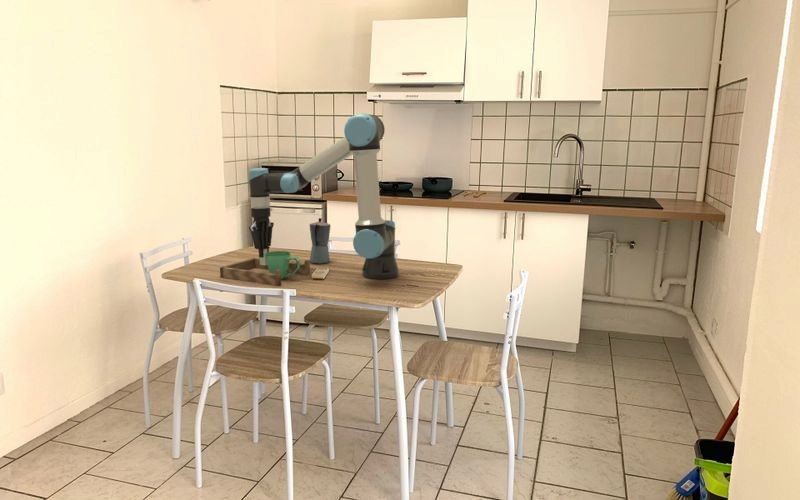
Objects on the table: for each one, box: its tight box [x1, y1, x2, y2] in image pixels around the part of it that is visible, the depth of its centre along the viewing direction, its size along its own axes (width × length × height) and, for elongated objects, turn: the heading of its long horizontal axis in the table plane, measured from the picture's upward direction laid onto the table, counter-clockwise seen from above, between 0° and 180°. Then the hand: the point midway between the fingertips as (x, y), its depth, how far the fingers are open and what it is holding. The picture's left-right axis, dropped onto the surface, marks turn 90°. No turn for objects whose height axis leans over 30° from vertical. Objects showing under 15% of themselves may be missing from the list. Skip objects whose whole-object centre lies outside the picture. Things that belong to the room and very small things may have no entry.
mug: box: [265, 250, 301, 280], centre depth 237 cm, size 15×10×10 cm
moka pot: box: [309, 217, 331, 264], centre depth 265 cm, size 10×15×20 cm, turn 179°
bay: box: [219, 248, 311, 287], centre depth 243 cm, size 29×25×10 cm
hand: (263, 264), depth 242 cm, fingers closed
